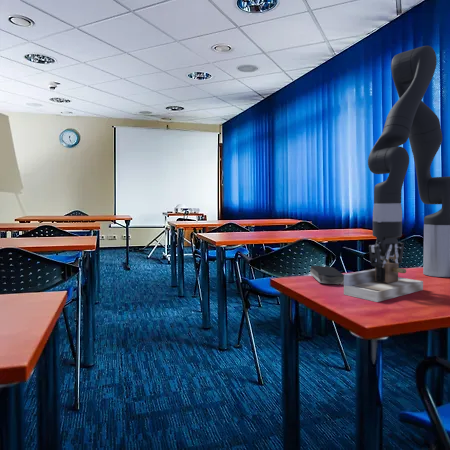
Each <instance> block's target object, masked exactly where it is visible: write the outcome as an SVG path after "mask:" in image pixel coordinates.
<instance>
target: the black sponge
mask: <svg viewBox="0 0 450 450" xmlns="http://www.w3.org/2000/svg"><path fill="white" fill-rule="evenodd" d="M309 271H310V272H309V275H311V276H312V278H314V279H315V280H316V281H318V282H319V283H320V284H328V285H339V284H341V285H343V286H344V274H343V273H342V272H341V271H339V270H338V269H336V268H335V267H332V266H324V265H311V266H310V270H309Z"/></svg>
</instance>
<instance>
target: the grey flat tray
mask: <svg viewBox="0 0 450 450" xmlns="http://www.w3.org/2000/svg"><path fill="white" fill-rule="evenodd" d="M343 275H344V285H343V295H345V296H349V297H353V298H357V299H362V300H365V301H371V302H373V303H374V302H375V303H379V302H383V301H387V300H391V299H394V298H398V297H402V296H405V295H409V294H412V293H418V292H419V291H423V290H424V280H419V279H412V278H407V277H399V276H398V281H397V282H390V283H386V282H380V281H375V268H372V269H371V268H370V269H365V270H361V271H355V272H349V273H344V274H343Z"/></svg>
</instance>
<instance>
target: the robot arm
mask: <svg viewBox="0 0 450 450" xmlns="http://www.w3.org/2000/svg"><path fill="white" fill-rule="evenodd" d="M390 68H391V69H390V70H391V76H392V80H393V83H394V87H395V89H396V93H397V96H398V100H397V101H396V102H395V103H394V105H392V107H391V108H390V110H389V111H388V114H387V115H386V119H385V122H384V126H383V129H382V133H381V135H380V136H379V138H377V141H376V142H375V144H374V145H373V146H372V149H371V151H370V152H369V155H368V158H367V167H368V170H369V171H370V172H371V173H372V174H375V175H385V174H388V176H387V178H386V180H384V181H382V182H378V183H376V184H375V185H374V187H373V208H372V209H373V210H372V236H373V237H375V238H376V239H375V240H376V241H375V244H369V245H368V252H369V254H368V255H369V260H370V265H371V266H372V267H374V268H375V267H376V280H377V281H380V282H384V281H385V265H386V262H390V263H397V264H402V262H403V255H404V249H405V248H404V247H405V242H400V241H399V240H398V238H401V237H402V236H403V208H402V194H403V193H402V189H403V185H404V182H405V178H406V174H407V172H408V169H409V164H410V155H409V151H407V149H406V148H404V147H403V145H404V144H405V143H407V142H408V141H409V144H410V148H411V153H412V156H413V157H412V158H413V161H414V167H415V173H416V179H417V180H416V181H417V189H418V196H419V198H420V201H421V203H423V204H425V205H441V208H440V209H439V210H438V211H436V212H433V213H431V214H428V215H425V216H424V218H423V259H422V260H423V263H422V265H423V266H422V267H423V268H422V274H423V275H426V276H430V277H439V278H450V176H449V175H448V176H435V177H432V176H431V166H432V163H433V161H434V158H435V156H436V155H437V154H438V151H439V149H440V148H441V146H442V143H443V133H442V127H441V121H440V119H439V116H438V115H437V114H436V113H435V112H434V110H433V109H432V108H430V107H429V106H428V105H427V104H426V103H425V102H424V101H423V98H424V97H425V94H426V92H427V90H428V88H429V85H430V84H431V82H432V79H433V77H434V74H435V71H436V68H437V54H436V51H435V50H434V48H433V47H432V46H430V45H423V46H418V47H415V48H412V49H409V50H406V51H403V52H400V53H398V54H395V55H394V56H393V58H392V59H391V63H390ZM381 262H382V263H381Z"/></svg>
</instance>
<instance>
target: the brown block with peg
mask: <svg viewBox="0 0 450 450" xmlns="http://www.w3.org/2000/svg"><path fill="white" fill-rule="evenodd" d="M381 263H382V261H381ZM399 264H400V263H398V264H397V263H390V262H388V261H386V265H385V281H384V282H386V283H390V282H397V281H398V277H399V273H400V274H406V273H407V269H406V268H401V267H399ZM374 269H375V281H377V280H376V267H375V266H374Z"/></svg>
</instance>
